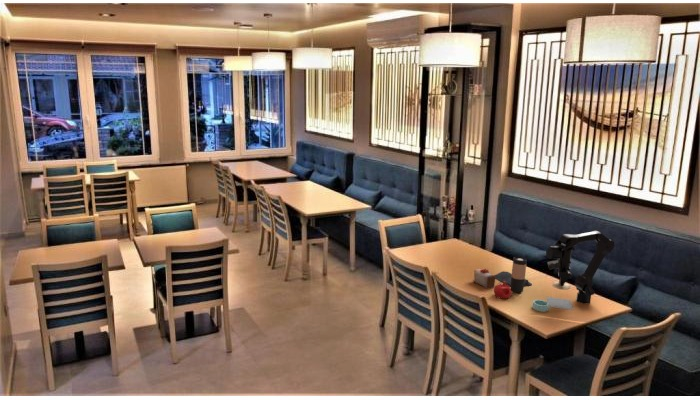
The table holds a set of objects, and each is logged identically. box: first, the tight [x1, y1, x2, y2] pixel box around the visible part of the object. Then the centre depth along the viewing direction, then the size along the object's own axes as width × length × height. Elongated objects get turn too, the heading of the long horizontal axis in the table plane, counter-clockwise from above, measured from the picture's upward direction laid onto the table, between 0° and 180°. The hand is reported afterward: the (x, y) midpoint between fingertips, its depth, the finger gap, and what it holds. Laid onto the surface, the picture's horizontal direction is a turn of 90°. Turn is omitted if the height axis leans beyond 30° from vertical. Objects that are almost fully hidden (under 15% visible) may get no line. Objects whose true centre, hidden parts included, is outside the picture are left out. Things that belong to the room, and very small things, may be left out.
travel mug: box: [510, 256, 528, 294], centre depth 301 cm, size 8×8×20 cm
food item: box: [473, 268, 496, 290], centre depth 310 cm, size 14×8×10 cm, turn 26°
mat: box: [545, 296, 574, 311], centre depth 286 cm, size 13×14×1 cm
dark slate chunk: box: [494, 270, 533, 288], centre depth 317 cm, size 15×22×5 cm
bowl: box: [531, 299, 550, 313], centre depth 278 cm, size 8×8×4 cm
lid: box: [551, 278, 571, 291], centre depth 283 cm, size 9×9×4 cm
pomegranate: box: [493, 281, 513, 300], centre depth 293 cm, size 10×10×9 cm
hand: (561, 284), depth 283 cm, fingers closed on lid, 3 cm apart
